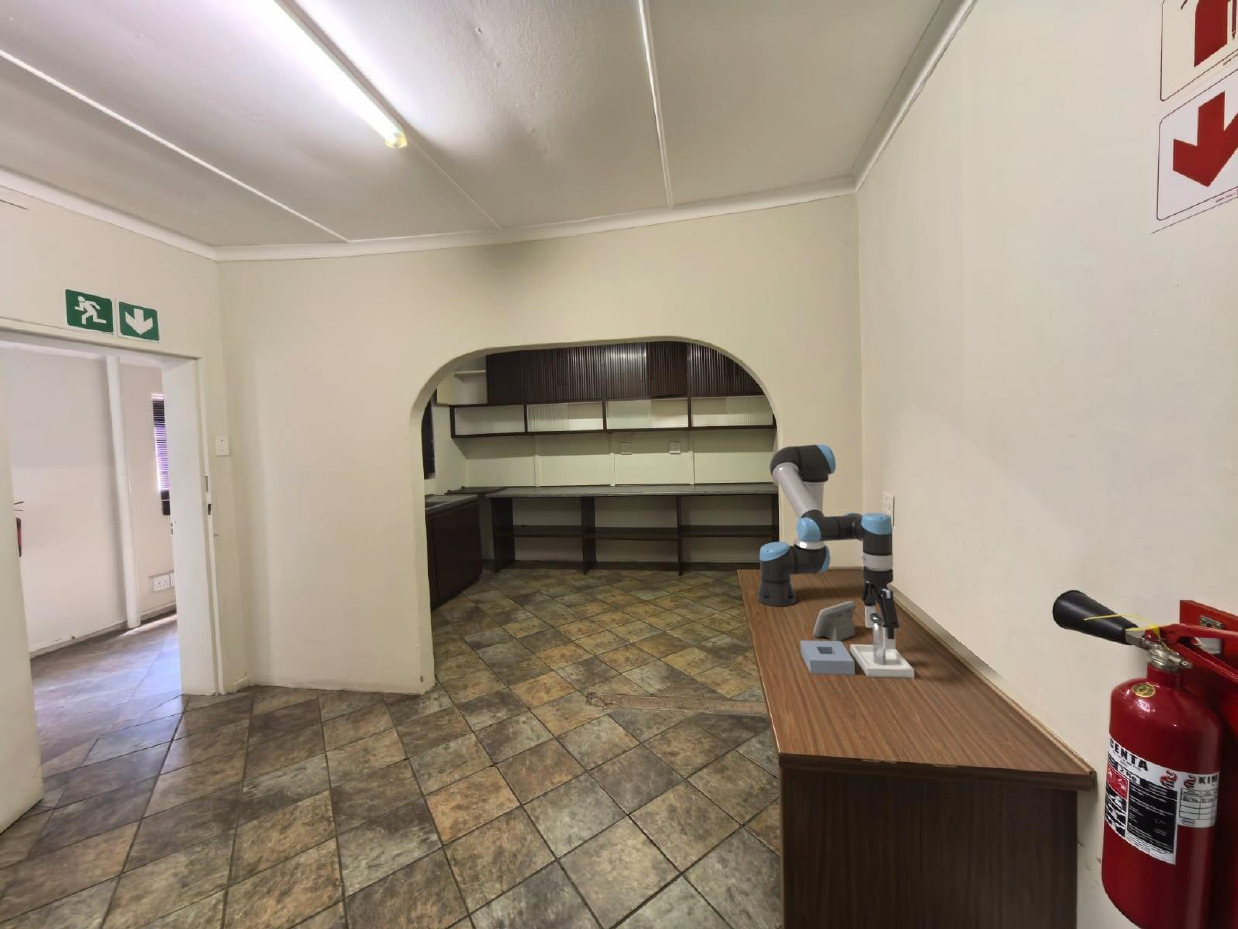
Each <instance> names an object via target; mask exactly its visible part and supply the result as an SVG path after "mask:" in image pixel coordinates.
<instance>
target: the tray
mask: <svg viewBox="0 0 1238 929" xmlns="http://www.w3.org/2000/svg"><path fill="white" fill-rule="evenodd" d="M849 647H850V648H849V649H850V655H851V656H853V659H855V661H856V662H857V664H858V665H859V666H860V668H861V670H862V671H863V672H864V674H865V675H866V677H867V678H883V679H884V678H886V679H887V678H889V679H890V678H892V679H915V669H914V667H912V666H911V665H910V664H909V663H908V661H907V660H906V659H905V658H904V656H903V655H901V653H900V652H899V651H898V650H897V649H896V648H895V649H886V664H885V665H878V664H875V663H874V662H873V644H850V646H849Z"/></svg>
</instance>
